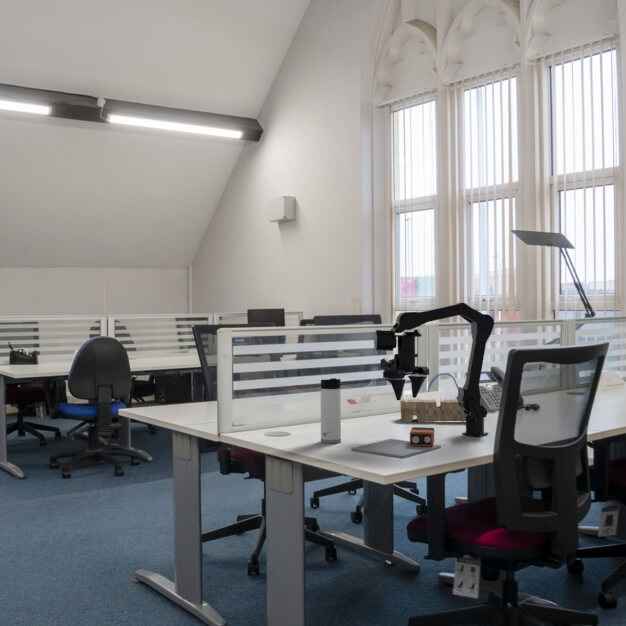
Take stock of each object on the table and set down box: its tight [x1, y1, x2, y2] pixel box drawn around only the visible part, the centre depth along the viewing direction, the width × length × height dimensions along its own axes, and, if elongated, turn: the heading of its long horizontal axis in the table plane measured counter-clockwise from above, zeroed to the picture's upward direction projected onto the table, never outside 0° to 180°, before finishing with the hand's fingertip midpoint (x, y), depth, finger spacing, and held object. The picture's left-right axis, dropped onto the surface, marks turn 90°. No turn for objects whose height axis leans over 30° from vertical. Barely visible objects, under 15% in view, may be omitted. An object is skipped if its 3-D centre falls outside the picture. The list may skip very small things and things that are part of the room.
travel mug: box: [320, 377, 342, 445], centre depth 227 cm, size 6×7×20 cm
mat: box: [351, 438, 442, 459], centre depth 215 cm, size 20×18×1 cm
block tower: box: [399, 398, 467, 423], centre depth 270 cm, size 8×8×29 cm
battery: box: [409, 426, 435, 447], centre depth 219 cm, size 4×7×10 cm
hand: (406, 398), depth 237 cm, fingers open, 9 cm apart
